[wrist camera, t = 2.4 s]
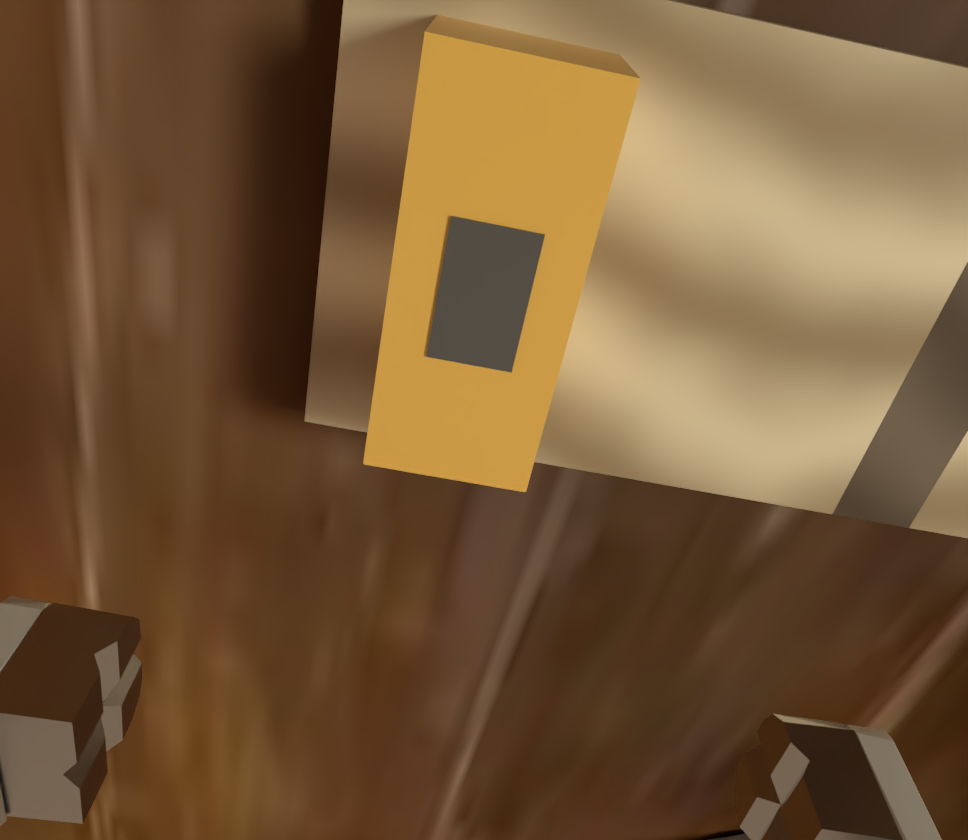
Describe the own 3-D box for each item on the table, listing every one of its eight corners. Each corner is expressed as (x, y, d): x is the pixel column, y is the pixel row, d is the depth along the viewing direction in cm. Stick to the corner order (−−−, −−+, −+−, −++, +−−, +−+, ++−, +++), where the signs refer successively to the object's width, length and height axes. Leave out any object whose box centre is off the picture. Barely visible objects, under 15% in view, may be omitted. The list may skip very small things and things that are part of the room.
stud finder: (437, 14, 21) (424, 31, 18) (619, 54, 22) (640, 79, 18) (380, 397, 28) (362, 465, 24) (523, 423, 28) (525, 493, 25)
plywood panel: (357, -73, 22) (349, -72, 20) (1242, 128, 24) (1275, 137, 23) (311, 403, 29) (304, 421, 28) (980, 523, 31) (996, 543, 30)
